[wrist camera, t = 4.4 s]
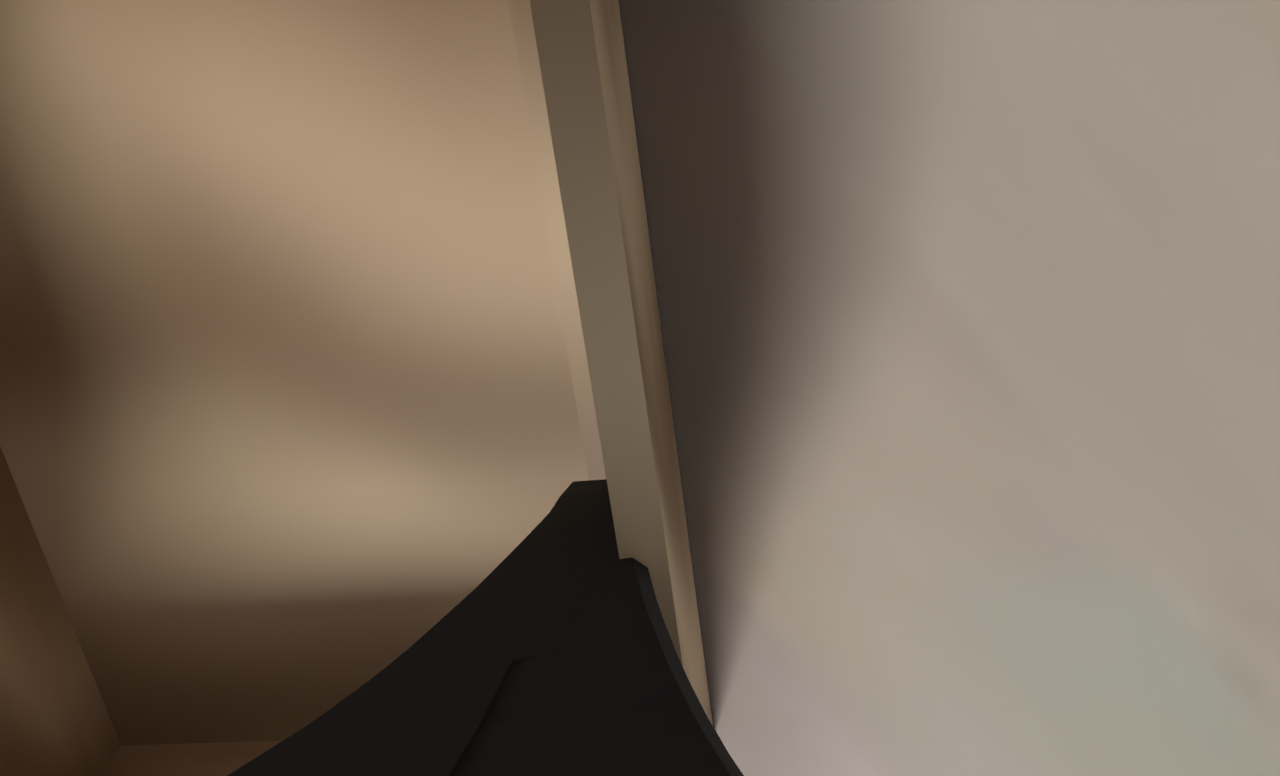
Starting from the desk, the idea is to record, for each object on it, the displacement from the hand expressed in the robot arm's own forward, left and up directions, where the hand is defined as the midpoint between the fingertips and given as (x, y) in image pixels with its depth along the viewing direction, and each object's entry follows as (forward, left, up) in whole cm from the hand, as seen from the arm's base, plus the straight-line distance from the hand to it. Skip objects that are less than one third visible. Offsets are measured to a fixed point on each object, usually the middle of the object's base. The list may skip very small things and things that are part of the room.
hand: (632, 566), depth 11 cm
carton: (0, +6, -7) cm, 9 cm away
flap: (0, 0, -2) cm, 2 cm away
